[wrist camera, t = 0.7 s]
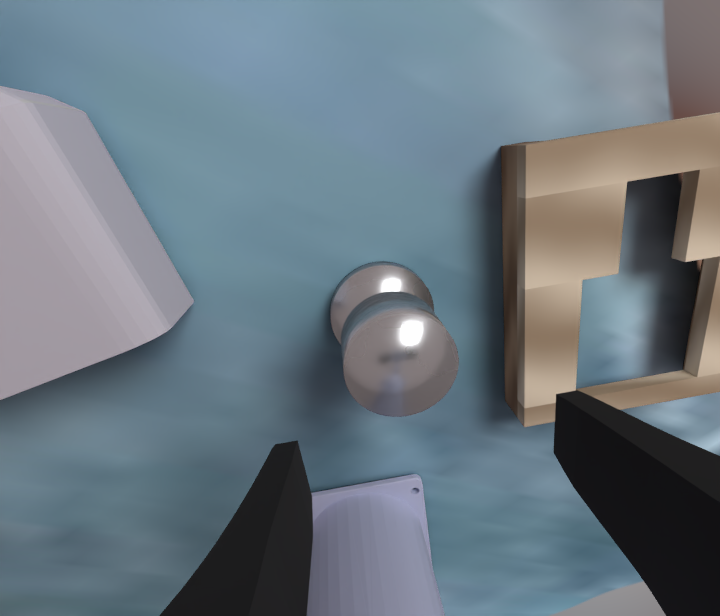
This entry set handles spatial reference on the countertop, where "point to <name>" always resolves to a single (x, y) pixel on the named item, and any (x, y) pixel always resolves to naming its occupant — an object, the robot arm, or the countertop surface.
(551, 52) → the countertop surface
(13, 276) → the charger
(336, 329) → the peg
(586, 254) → the keyhole plate
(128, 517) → the countertop surface
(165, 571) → the countertop surface
